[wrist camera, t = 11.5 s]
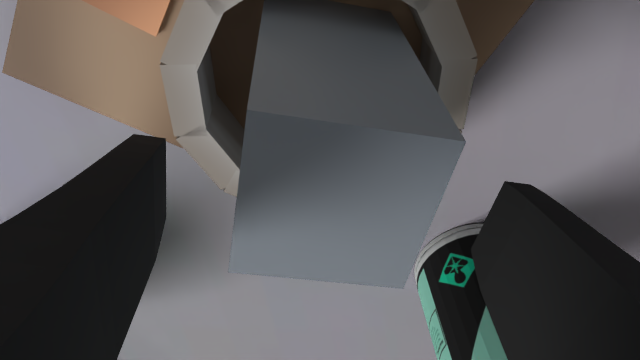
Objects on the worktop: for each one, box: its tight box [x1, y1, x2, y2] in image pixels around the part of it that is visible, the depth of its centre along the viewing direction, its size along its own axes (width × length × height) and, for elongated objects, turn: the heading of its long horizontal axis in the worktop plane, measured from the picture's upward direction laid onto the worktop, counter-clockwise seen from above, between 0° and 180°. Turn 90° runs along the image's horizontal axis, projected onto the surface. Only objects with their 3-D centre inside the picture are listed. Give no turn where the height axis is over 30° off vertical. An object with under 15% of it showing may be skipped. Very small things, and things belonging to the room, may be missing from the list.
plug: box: [228, 0, 466, 289], centre depth 13 cm, size 4×4×8 cm
